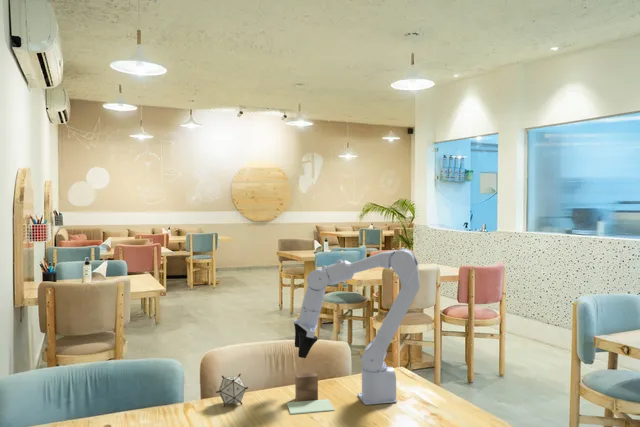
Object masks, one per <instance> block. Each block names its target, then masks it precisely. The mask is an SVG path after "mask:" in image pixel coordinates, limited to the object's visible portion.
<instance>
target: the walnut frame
mask: <svg viewBox="0 0 640 427" xmlns="http://www.w3.org/2000/svg"><path fill="white" fill-rule="evenodd" d="M294 376H295V384H294V385H295V386H294V387H295V390H294V391H295V402H301V401H313V400H319V378H318V377H319V376H318V374H317V373H316V372H309V373H308V372H307V373H295V374H294Z"/></svg>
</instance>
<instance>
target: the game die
mask: <svg viewBox="0 0 640 427" xmlns="http://www.w3.org/2000/svg"><path fill="white" fill-rule="evenodd" d="M241 375H242V374H241V373H239V374H238V375H236V376H235V375H234V376H228V377H227V376H224V375H221V378H222V379H221V384H220V386H219V389H218V390H216V391H215V393H216V394H218V395H219V396H220V398H221V400H222V402H223V403H224V404H223V408H224V407H226V405H232V404H238V403H239V404H240V405H243V402H242V400H243V397H244V395H245V393H246V390H248V389H249V387H248V386H245V384H244V382H243V380H242V379H241Z"/></svg>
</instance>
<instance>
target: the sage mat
mask: <svg viewBox="0 0 640 427" xmlns="http://www.w3.org/2000/svg"><path fill="white" fill-rule="evenodd" d="M286 405H287V408H288V411H289V413H290V415H298V414H300V415H301V414H310V413H311V414H312V413H321V412H322V413H323V412H332V411H333V412H334V411H335V408H334V406H333V405H332V402H331V401H330V399H328V398H325V399H318V400H313V401H301V402H297V401H291V402H290V401H289V402H286Z"/></svg>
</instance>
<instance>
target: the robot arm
mask: <svg viewBox="0 0 640 427" xmlns="http://www.w3.org/2000/svg"><path fill="white" fill-rule="evenodd" d="M378 267H381V268H384V269H387V270H389V269H390V268H391V269H392V270H393V271H394V273H395V274H396V275H397V277H398V279H399V282H400V284H401V288H400V290H399V291H398V294H397V295H396V297H395V299H394V301H393V303H392V305H391V307H390V309H389V310H388V312H387V314H386V317H385V318H384V320H383V322H381V325H380V327H379V328H378V331H377V333H376V335H375V337H374V338H373V340H372V341H370V342H368V344H367V345H366V346H365V349H364V350H363V352H362V354H361V356H360V362H361V392H358V393H357V397H358V398H359V399H360V400H361V401H362V403H363V404H364V405H365V406H366V405H367V406H370V405H380V404H390V403H397V402H398V400H397V377H396V376H397V375H396V371H395V368H393V366H388V365H387V364H386V362H385V359H386V358H387V353H388V348H389V346H390V344H391V343H392V341H393V339H394V336H395V334H396V333H397V331H398V329H399V327H400V325H401V324H402V322H403V320H404V318H405V317H406V315H407V312H408V311H409V309H410V307H411V305H412V304H413V302H414V299H415V298H416V296H417V294H418V292H419V290H420V286H421V280H420V273H419V262H418V260H417V258H416V257H415V254H414V252H413V251H412V250H410V249H409V248H404V247H403V248H399V249H397V250H395V249H393V250H388V251H383V252H380V253H377V254H374V255H370V256H368V257H365V258H362V259H360V260H357V261H354V262H350V261H348V260H346V259H345V260H342V259H338V260H336V262H335V263H332V264H329V265H326V264H324V265H322V266H321V267H320V268H316V269H314V270H312V271H310V272H309V273H308V275H307V277H306V283H307V286H306V290H305V292H304V297H303V300H302V305H301V308H300V312H299V316H298V319H294V318H293V325H294V335H295V336H294V347H295V348H298V354H297V355H298V358H301V359H306V358H307V356H308V354H309V353H310V351H311V348H312V347H313V346H314V345H315V343H316V342H317V341H318V339H319V338H318V336H315V334H316V330H317V329H318V322H319V320H320V318H319V317H320V314H321V311H322V307H323V303H324V299H325V295H326V294H325V293H326V289H327V286H333V285H337V284H339V283H340V284H341V283H343V282H346V281H350V280H352V279H353V278H354V275H355V274H357V273H361V272H364V271H368V270H370V269H372V270H373V269H375V268H378Z"/></svg>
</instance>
